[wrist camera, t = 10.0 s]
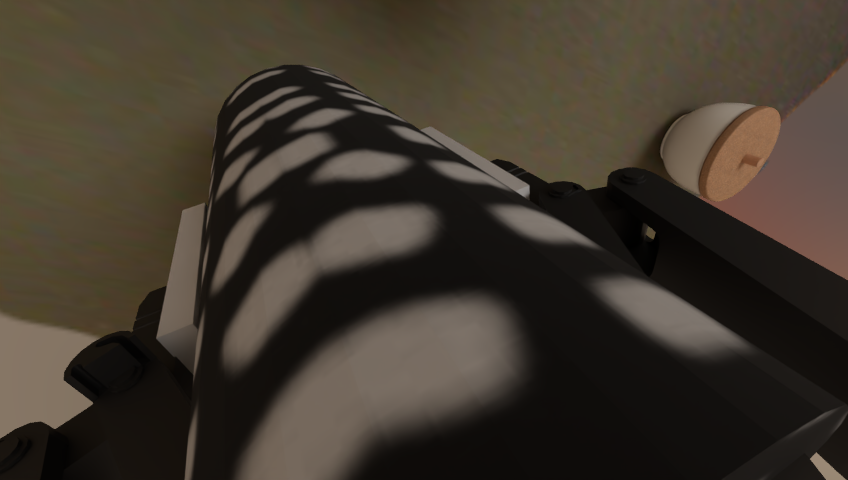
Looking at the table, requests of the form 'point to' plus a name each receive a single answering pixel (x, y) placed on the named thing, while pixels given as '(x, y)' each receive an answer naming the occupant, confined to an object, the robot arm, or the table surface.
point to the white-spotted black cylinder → (447, 322)
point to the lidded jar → (719, 147)
